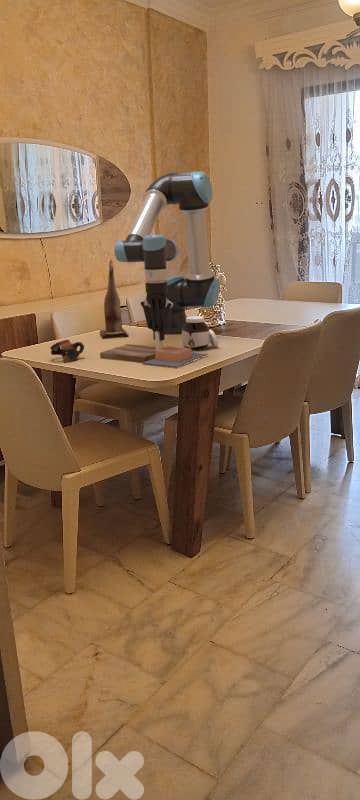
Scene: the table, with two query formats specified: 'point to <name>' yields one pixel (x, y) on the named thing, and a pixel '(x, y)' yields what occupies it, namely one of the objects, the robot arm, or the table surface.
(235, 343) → the table surface
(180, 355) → the terracotta tile
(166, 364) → the charcoal mat
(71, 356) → the pottery mug
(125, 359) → the walnut riser
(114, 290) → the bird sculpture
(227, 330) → the table surface
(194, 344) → the spread jar
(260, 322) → the table surface
